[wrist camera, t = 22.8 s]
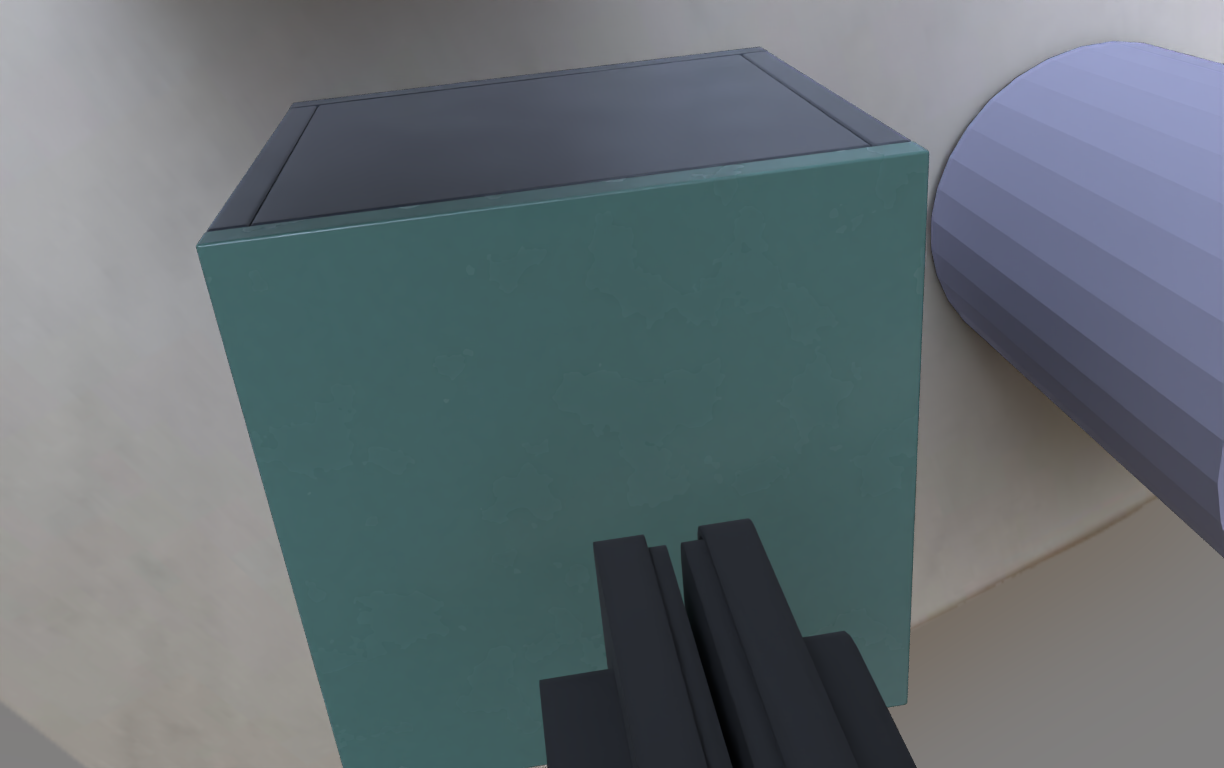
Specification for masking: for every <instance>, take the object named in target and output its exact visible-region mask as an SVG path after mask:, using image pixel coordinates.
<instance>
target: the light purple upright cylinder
mask: <svg viewBox="0 0 1224 768" xmlns="http://www.w3.org/2000/svg"><path fill="white" fill-rule="evenodd" d="M931 250H932V254H933V259H934V264H935V268H936V273H937V277H938V279H939V281H940V283H941V286H942V288H943V290H944V292H945V294H946V296H947V298H948V300H949V302H950V303H951V304H952V306H953V307H954V308H955V310H956V311H957V312H958V314H959V315H960V316H961V317H962V319H963V320H964V321H965V322H966V323H967V324H968V325H969V326H970V327H971V328H972V329H974V330H975V331H976V332H977V333H978V334H979V335H980V336H981V337H982V338H983V339H985V340H986V341H987V342H988V343H989V344H990V345H991V346H992V347H993V348H994V349H995V350H997V351H998V352H999V353H1000V354H1001V355H1002V356H1003V357H1004V358H1005V359H1006V360H1008V361H1009V362H1010V363H1011V364H1012V365H1013V366H1014V367H1015V368H1016V369H1017V370H1018V371H1020V372H1021V373H1022V374H1023V375H1024V376H1025V377H1026V378H1027V379H1028V380H1029V381H1031V382H1032V383H1033V384H1034V385H1035V386H1036V387H1037V388H1038V389H1039V390H1040V391H1041V392H1043V393H1044V394H1045V395H1046V396H1047V397H1048V398H1049V399H1050V400H1051V401H1052V402H1054V403H1055V404H1056V405H1057V406H1058V407H1059V408H1060V409H1061V410H1062V411H1063V412H1065V413H1066V414H1067V415H1068V416H1069V417H1070V418H1071V419H1072V420H1073V421H1074V422H1075V423H1077V424H1078V425H1079V426H1080V427H1081V428H1082V429H1083V430H1084V431H1085V432H1086V433H1088V434H1089V435H1090V436H1091V437H1092V438H1093V439H1094V440H1095V441H1096V442H1097V443H1098V444H1100V445H1101V446H1102V447H1103V448H1104V449H1105V450H1106V451H1107V452H1108V453H1109V454H1111V455H1112V456H1113V457H1114V458H1115V459H1116V460H1117V461H1118V462H1119V463H1120V464H1121V465H1123V466H1124V467H1125V468H1126V469H1127V470H1128V471H1129V472H1130V473H1131V474H1132V475H1134V476H1135V477H1136V478H1137V479H1138V480H1139V481H1140V482H1141V483H1142V484H1143V485H1144V486H1146V487H1147V488H1148V489H1149V490H1150V491H1151V492H1152V493H1153V494H1154V495H1155V496H1157V497H1158V498H1159V499H1160V500H1161V501H1162V502H1163V503H1164V504H1165V505H1166V506H1167V507H1169V508H1170V509H1171V510H1172V511H1173V512H1174V513H1175V514H1176V515H1177V516H1178V517H1180V518H1181V519H1182V520H1183V521H1184V522H1185V523H1186V524H1187V525H1188V526H1189V527H1191V528H1192V529H1193V530H1194V531H1195V532H1196V533H1197V534H1198V535H1199V536H1200V537H1201V538H1203V539H1204V540H1205V541H1206V542H1207V543H1208V544H1209V545H1210V546H1211V547H1212V548H1213V549H1215V550H1216V551H1217V552H1218V553H1219V554H1220V555H1221V556H1222V557H1223V558H1224V64H1221V63H1217V62H1213V61H1210V60H1206V59H1202V58H1198V57H1195V56H1191V55H1187V54H1183V53H1179V52H1176V51H1172V50H1168V49H1164V48H1161V47H1157V46H1153V45H1149V44H1146V43H1137V42H1119V41H1111V42H1105V43H1099V44H1093V45H1087V46H1081V47H1078V48H1075V49H1073V50H1070V51H1067V52H1065V53H1062V54H1059V55H1057V56H1054V57H1051V58H1048V59H1047V60H1045V61H1043V62H1042V63H1040V64H1038V65H1037V66H1035V67H1033V68H1032V69H1030V70H1028V71H1027V72H1025V73H1023V74H1022V75H1020V76H1018V77H1017V78H1016V79H1015V80H1013V81H1012V82H1011V83H1010V84H1008V85H1007V86H1006V87H1005V88H1004V89H1002V90H1001V91H1000V92H999V93H998V94H996V95H995V96H994V97H993V98H992V99H990V101H989V102H988V103H987V104H986V105H985V107H984V108H983V109H982V110H981V111H980V113H979V114H978V115H977V116H976V117H975V119H974V120H973V121H972V122H971V123H970V125H969V126H968V127H967V129H966V130H965V132H964V134H963V135H962V137H961V139H960V140H959V142H958V144H957V145H956V147H955V149H954V150H953V152H952V154H951V155H950V157H949V159H948V162H947V165H946V167H945V170H944V172H943V175H942V177H941V180H940V182H939V185H938V188H937V192H936V197H935V202H934V207H933V212H932V217H931Z"/></svg>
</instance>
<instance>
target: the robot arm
mask: <svg viewBox="0 0 1224 768" xmlns="http://www.w3.org/2000/svg"><path fill="white" fill-rule="evenodd" d="M697 538H698V540H694V541H688V542H682V543H681V564H682V578H683V591H684V603H683V599H682V596H681V593H680V589H679V586H678V583H677V579H676V576H675V572H674V569H673V566H672V562H671V559H670V556H669V552H668V549H667V546H666V545H662V546H655V547H649V548H648V546H647V542H646V539H645V536H644V535H643V534H642V535H636V536H629V537H623V538H616V539H609V540H603V541H596V542H593V551H594V559H595V568H596V576H597V584H598V592H599V601H600V609H601V617H602V625H603V634H604V642H605V650H606V658H607V667H608V669H604V670H598V671H592V672H586V673H580V674H573V675H567V676H561V677H555V678H549V679H543V680H539V687H540V698H541V708H542V718H543V728H544V738H545V748H546V758H547V768H917V767H916V765H915V763H914V761H913V759H912V757H911V755H910V753H909V751H908V749H907V747H906V745H905V743H904V741H903V739H902V737H901V735H900V733H899V731H898V729H897V727H896V725H895V723H894V721H893V719H892V717H891V714H890V713H889V710H888V708H887V706H886V704H885V702H884V700H883V698H882V696H881V694H880V692H879V690H878V688H877V686H876V684H875V682H874V680H873V678H872V676H871V674H870V672H869V670H868V668H867V666H866V664H865V662H864V660H863V658H862V656H861V654H860V652H859V650H858V647H857V646H856V644H855V642H854V641H853V639H852V637H851V636H850V635H849V634H848V633H847V632H846V631H839V632H833V633H827V634H820V635H814V636H808V637H802V635H801V633H800V630H799V628H798V626H797V623H796V621H795V619H794V617H793V614H792V612H791V610H790V607H789V605H788V603H787V600H786V598H785V596H784V593H783V591H782V589H781V586H780V584H779V582H778V579H777V577H776V575H775V572H774V570H773V568H772V565H771V563H770V561H769V559H768V556H767V554H766V552H765V549H764V547H763V545H762V542H761V540H760V538H759V535H758V533H757V531H756V528H755V526H754V524H753V522H752V520H751V519H749V518H747V519H740V520H734V521H727V522H721V523H714V524H708V525H701V526H699V527H698V532H697ZM684 605H685V606H684Z"/></svg>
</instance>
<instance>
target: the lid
mask: <svg viewBox="0 0 1224 768" xmlns="http://www.w3.org/2000/svg"><path fill="white" fill-rule="evenodd" d="M928 169H929V151H928V150H926V149H925V148H923V147H922V146H920V145H918V144H917V143H915V142H913V141H912V142H905V143H897V144H889V145H881V146H873V147H866V148H858V149H850V150H842V151H834V152H827V153H819V154H811V155H803V156H795V157H788V158H780V159H772V160H764V161H756V162H749V163H741V164H733V165H725V166H717V167H710V168H702V169H694V170H686V171H678V172H671V173H663V174H655V175H647V176H639V177H632V178H624V179H616V180H608V181H601V182H593V183H585V184H577V185H569V186H562V187H554V188H546V189H538V190H530V191H523V192H515V193H507V194H499V195H491V196H484V197H476V198H468V199H460V200H452V201H445V202H437V203H429V204H421V205H413V206H406V207H398V208H390V209H382V210H374V211H367V212H359V213H351V214H343V215H335V216H328V217H320V218H312V219H304V220H296V221H289V222H281V223H273V224H265V225H257V226H250V227H242V228H234V229H226V230H218V231H211V232H206V233H204V235H203V236H202V237H201V239H200V240H199V242H198V243H197V245H196V249H197V253H198V256H199V260H200V263H201V267H202V270H203V274H204V278H205V281H206V285H207V288H208V292H209V295H210V299H211V302H212V306H213V309H214V313H215V316H216V320H217V324H218V327H219V331H220V334H221V338H222V341H223V345H224V348H225V352H226V355H227V359H228V362H229V366H230V369H231V373H232V377H233V380H234V384H235V387H236V391H237V394H238V398H239V401H240V405H241V408H242V412H243V415H244V419H245V423H246V426H247V430H248V433H249V437H250V440H251V444H252V447H253V451H254V454H255V458H256V461H257V465H258V469H259V472H260V476H261V479H262V483H263V486H264V490H265V493H266V497H267V500H268V504H269V507H270V511H271V514H272V518H273V522H274V525H275V529H276V532H277V536H278V539H279V543H280V546H281V550H282V553H283V557H284V560H285V564H286V568H287V571H288V575H289V578H290V582H291V585H292V589H293V592H294V596H295V599H296V603H297V606H298V610H299V614H300V617H301V621H302V624H303V628H304V631H305V635H306V638H307V642H308V645H309V649H310V652H311V656H312V659H313V663H314V667H315V670H316V674H317V677H318V681H319V684H320V688H321V691H322V695H323V698H324V702H325V705H326V709H327V713H328V716H329V720H330V723H331V727H332V730H333V734H334V737H335V741H336V744H337V748H338V751H339V755H340V759H341V762H342V766H343V768H529V767H535V766H541V765H547V758H546V748H545V738H544V728H543V718H542V708H541V698H540V687H539V680H543V679H549V678H555V677H561V676H567V675H573V674H580V673H586V672H592V671H598V670H604V669H608V667H607V658H606V650H605V642H604V634H603V625H602V617H601V609H600V601H599V592H598V584H597V576H596V568H595V559H594V551H593V542H596V541H603V540H609V539H616V538H623V537H629V536H636V535H642V534H643V535H644V536H645V539H646V542H647V546H648V548H649V547H655V546H662V545H666V546H667V549H668V552H669V556H670V559H671V562H672V566H673V569H674V572H675V576H676V579H677V583H678V586H679V589H680V593H681V596H682V599H683V603H684V591H683V578H682V564H681V543H682V542H688V541H694V540H698V538H697V532H698V527H699V526H701V525H708V524H714V523H721V522H727V521H734V520H740V519H747V518H749V519H751V520H752V522H753V524H754V526H755V528H756V531H757V533H758V535H759V538H760V540H761V542H762V545H763V547H764V549H765V552H766V554H767V556H768V559H769V561H770V563H771V565H772V568H773V570H774V572H775V575H776V577H777V579H778V582H779V584H780V586H781V589H782V591H783V593H784V596H785V598H786V600H787V603H788V605H789V607H790V610H791V612H792V614H793V617H794V619H795V621H796V623H797V626H798V628H799V630H800V633H801V635H802V637H808V636H814V635H820V634H827V633H833V632H839V631H846V632H847V633H848V634H849V635H850V636H851V637H852V639H853V641H854V642H855V644H856V646H857V647H858V650H859V652H860V654H861V656H862V658H863V660H864V662H865V664H866V666H867V668H868V670H869V672H870V674H871V676H872V678H873V680H874V682H875V684H876V686H877V688H878V690H879V692H880V694H881V696H882V698H883V700H884V702H885V704H886V706H887V707H894V706H900V705H905V704H907V697H908V696H907V695H908V672H909V646H910V622H911V597H912V572H913V546H914V521H915V496H916V471H917V446H918V421H919V396H920V370H921V345H922V320H923V295H924V270H925V245H926V220H927V195H928ZM684 606H685V605H684Z"/></svg>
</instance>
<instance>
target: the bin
mask: <svg viewBox="0 0 1224 768" xmlns="http://www.w3.org/2000/svg"><path fill="white" fill-rule="evenodd" d="M905 142H911V140H910V139H908V138H906V137H905V136H903V135H901V134H900V133H898V132H897V131H895V130H893V129H892V128H890V127H889V126H887V125H885V124H884V123H882V122H881V121H879V120H877V119H876V118H874V117H872V116H871V115H869V114H868V113H866V112H864V111H863V110H861V109H860V108H858V107H856V106H855V105H853V104H852V103H850V102H848V101H847V100H845V99H843V98H842V97H840V96H839V95H837V94H835V93H834V92H832V91H831V90H829V89H827V88H826V87H824V86H823V85H821V84H819V83H818V82H816V81H814V80H813V79H811V78H810V77H808V76H806V75H805V74H803V73H802V72H800V71H798V70H797V69H795V68H794V67H792V66H790V65H789V64H787V63H786V62H784V61H782V60H781V59H779V58H777V57H776V56H774V55H773V54H771V53H769V52H768V51H767V50H765V49H764V48H762V47H753V48H744V49H736V50H728V51H719V52H711V53H703V54H695V55H686V56H678V57H670V58H661V59H653V60H645V61H636V62H628V63H620V64H611V65H603V66H595V67H587V68H578V69H570V70H562V71H553V72H545V73H537V74H528V75H520V76H512V77H503V78H495V79H487V80H479V81H470V82H462V83H454V84H445V85H437V86H429V87H420V88H412V89H404V90H395V91H387V92H379V93H370V94H362V95H354V96H346V97H337V98H329V99H321V100H312V101H304V102H296V103H293V104H292V105H291V107H290V108H289V110H288V112H287V113H286V115H285V116H284V118H283V119H282V121H281V122H280V124H279V125H278V127H277V128H276V130H275V131H274V133H273V134H272V135H271V137H270V138H269V140H268V141H267V143H266V144H265V146H264V147H263V149H262V150H261V152H260V153H259V155H258V156H257V158H256V159H255V161H254V162H253V163H252V165H251V166H250V168H249V169H248V171H247V172H246V174H245V175H244V177H243V178H242V180H241V181H240V183H239V184H238V186H237V187H236V188H235V190H234V191H233V193H232V194H231V196H230V197H229V199H228V200H227V202H226V203H225V205H224V206H223V208H222V209H221V211H220V212H219V213H218V215H217V216H216V218H215V219H214V221H213V222H212V224H211V225H210V227H209V228H208V230H207V232H211V231H218V230H226V229H234V228H242V227H250V226H257V225H265V224H273V223H281V222H289V221H296V220H304V219H312V218H320V217H328V216H335V215H343V214H351V213H359V212H367V211H374V210H382V209H390V208H398V207H406V206H413V205H421V204H429V203H437V202H445V201H452V200H460V199H468V198H476V197H484V196H491V195H499V194H507V193H515V192H523V191H530V190H538V189H546V188H554V187H562V186H569V185H577V184H585V183H593V182H601V181H608V180H616V179H624V178H632V177H639V176H647V175H655V174H663V173H671V172H678V171H686V170H694V169H702V168H710V167H717V166H725V165H733V164H741V163H749V162H756V161H764V160H772V159H780V158H788V157H795V156H803V155H811V154H819V153H827V152H834V151H842V150H850V149H858V148H866V147H873V146H881V145H889V144H897V143H905Z"/></svg>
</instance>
